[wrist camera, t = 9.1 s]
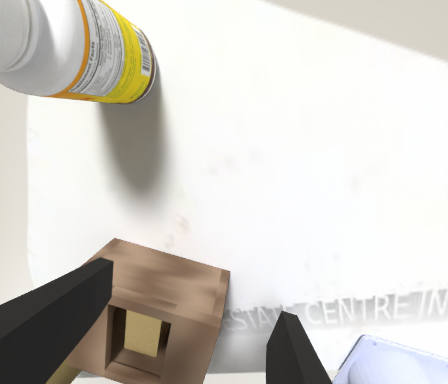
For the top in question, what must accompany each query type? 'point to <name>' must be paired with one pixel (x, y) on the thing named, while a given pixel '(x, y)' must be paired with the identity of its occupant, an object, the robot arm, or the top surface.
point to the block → (144, 333)
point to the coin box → (159, 309)
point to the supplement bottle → (74, 51)
